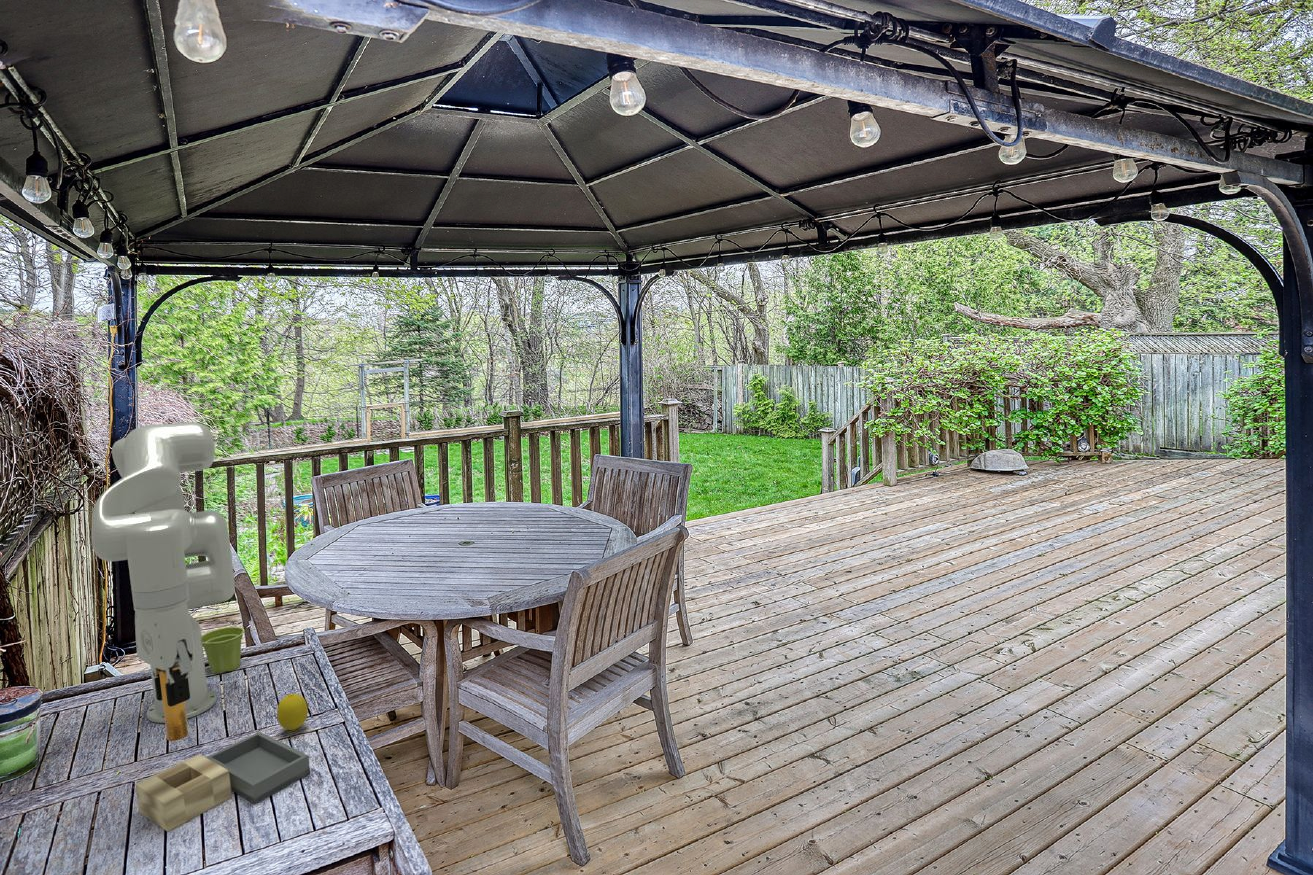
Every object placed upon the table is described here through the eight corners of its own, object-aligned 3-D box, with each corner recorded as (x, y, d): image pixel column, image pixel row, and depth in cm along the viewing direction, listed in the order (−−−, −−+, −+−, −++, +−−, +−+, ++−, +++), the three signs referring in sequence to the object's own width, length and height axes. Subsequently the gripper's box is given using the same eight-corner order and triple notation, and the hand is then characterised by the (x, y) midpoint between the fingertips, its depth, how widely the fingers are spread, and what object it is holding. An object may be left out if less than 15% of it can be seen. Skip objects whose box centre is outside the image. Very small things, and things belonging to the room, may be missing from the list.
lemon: (296, 739, 139) (293, 701, 138) (272, 736, 140) (268, 699, 139) (315, 724, 144) (312, 688, 143) (291, 722, 145) (288, 685, 144)
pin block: (138, 811, 118) (135, 783, 117) (202, 779, 126) (199, 753, 126) (167, 831, 113) (164, 803, 112) (231, 797, 121) (228, 770, 120)
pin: (163, 737, 118) (155, 670, 116) (183, 729, 120) (175, 663, 119) (172, 742, 116) (164, 675, 114) (192, 734, 119) (184, 667, 117)
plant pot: (227, 678, 165) (223, 643, 164) (193, 675, 167) (189, 641, 166) (256, 660, 174) (253, 627, 173) (223, 658, 176) (220, 625, 175)
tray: (206, 775, 127) (204, 757, 127) (261, 748, 136) (259, 731, 135) (255, 804, 119) (253, 785, 119) (310, 773, 128) (308, 755, 127)
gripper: (112, 593, 116) (125, 697, 118) (159, 612, 107) (173, 723, 110) (162, 579, 122) (174, 678, 125) (211, 597, 114) (222, 702, 116)
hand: (173, 698), depth 117 cm, fingers closed on pin, 3 cm apart
